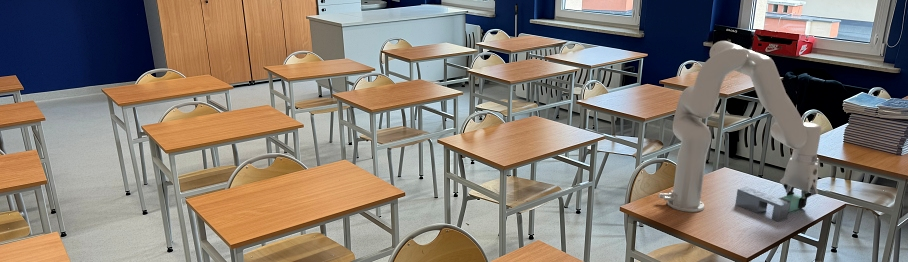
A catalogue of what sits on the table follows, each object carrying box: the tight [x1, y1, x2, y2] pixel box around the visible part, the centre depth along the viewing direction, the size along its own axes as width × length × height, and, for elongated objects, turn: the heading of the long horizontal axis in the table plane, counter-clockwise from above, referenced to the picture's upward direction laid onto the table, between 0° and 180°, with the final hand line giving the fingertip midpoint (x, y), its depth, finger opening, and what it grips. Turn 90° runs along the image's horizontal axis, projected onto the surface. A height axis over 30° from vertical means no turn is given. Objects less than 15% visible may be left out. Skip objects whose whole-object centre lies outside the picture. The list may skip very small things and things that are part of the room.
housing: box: [734, 186, 790, 223], centre depth 228 cm, size 5×17×6 cm, turn 30°
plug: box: [777, 193, 801, 213], centre depth 231 cm, size 11×4×4 cm, turn 120°
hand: (795, 205), depth 233 cm, fingers closed on plug, 4 cm apart
